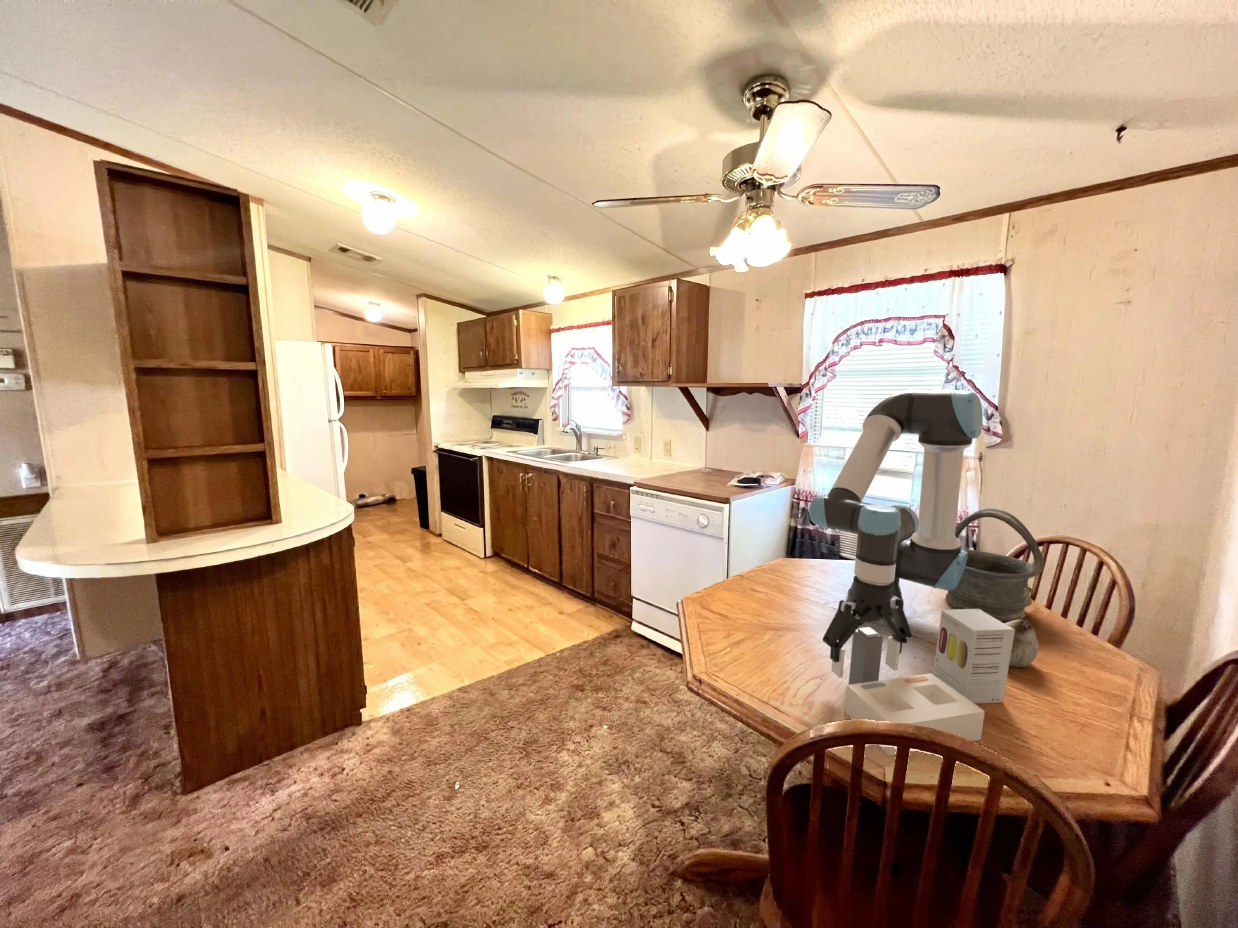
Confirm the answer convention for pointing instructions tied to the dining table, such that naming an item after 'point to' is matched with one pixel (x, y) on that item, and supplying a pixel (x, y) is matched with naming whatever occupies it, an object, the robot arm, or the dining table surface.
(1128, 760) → the dining table surface
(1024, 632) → the fruit
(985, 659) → the supplement box
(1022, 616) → the clay pot
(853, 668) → the plug
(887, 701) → the socket block
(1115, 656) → the dining table surface
